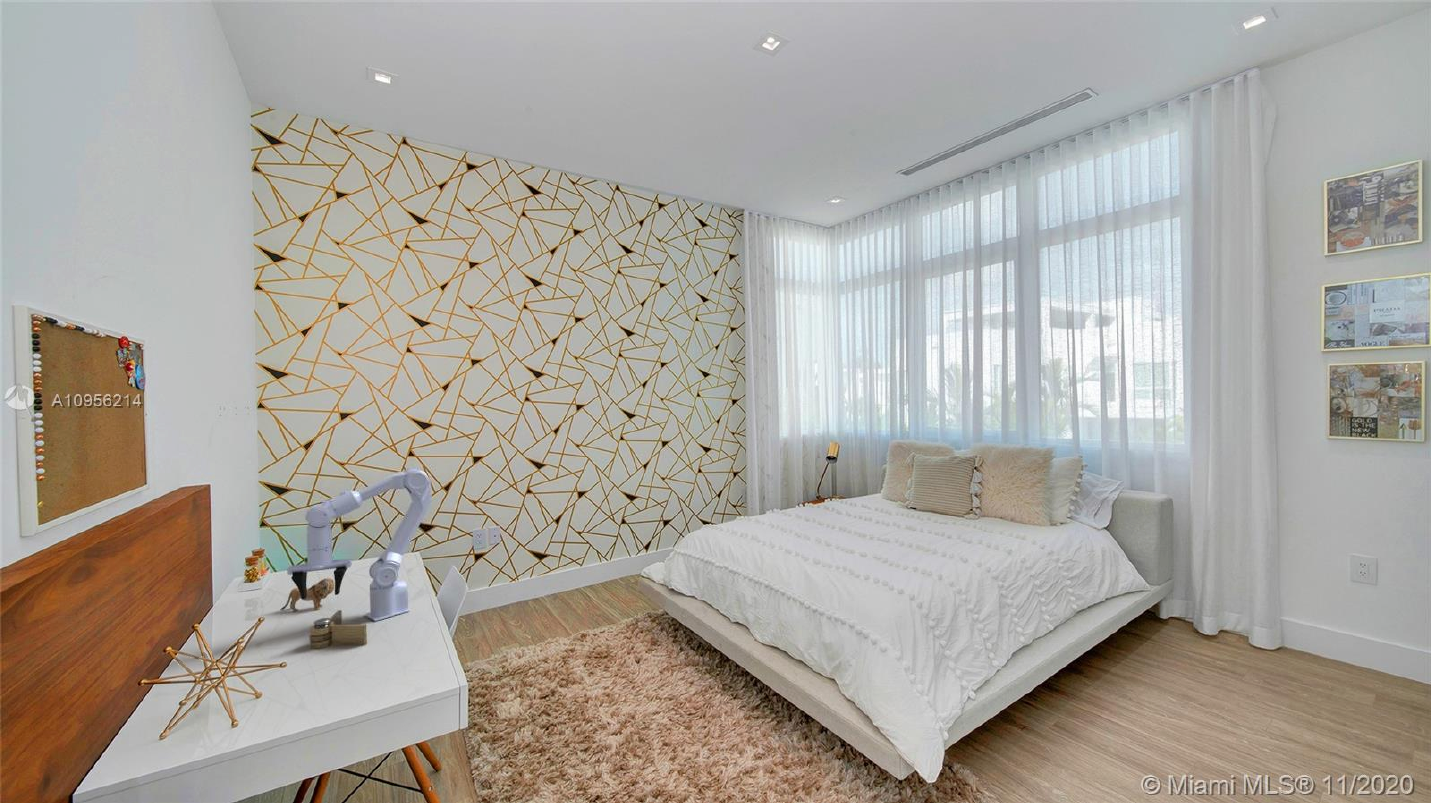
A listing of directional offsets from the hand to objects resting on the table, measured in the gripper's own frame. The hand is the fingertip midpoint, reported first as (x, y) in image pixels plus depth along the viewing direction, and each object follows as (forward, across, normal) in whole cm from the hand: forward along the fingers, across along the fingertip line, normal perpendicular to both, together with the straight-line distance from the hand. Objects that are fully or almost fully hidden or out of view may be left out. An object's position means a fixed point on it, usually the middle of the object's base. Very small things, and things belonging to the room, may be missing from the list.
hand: (320, 595), depth 152 cm
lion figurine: (+10, -8, +22) cm, 25 cm away
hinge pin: (+9, +3, -12) cm, 16 cm away
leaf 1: (+9, +3, -7) cm, 12 cm away
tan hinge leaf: (+9, +7, -14) cm, 18 cm away
